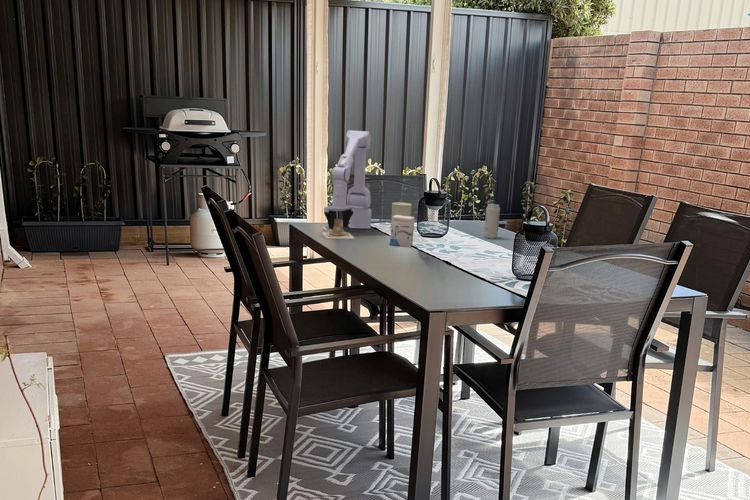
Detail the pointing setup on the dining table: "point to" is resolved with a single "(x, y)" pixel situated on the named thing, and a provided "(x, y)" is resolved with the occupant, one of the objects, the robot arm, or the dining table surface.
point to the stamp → (338, 228)
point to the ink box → (402, 231)
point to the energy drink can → (492, 221)
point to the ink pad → (327, 229)
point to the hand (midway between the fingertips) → (338, 228)
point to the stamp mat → (327, 236)
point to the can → (401, 209)
